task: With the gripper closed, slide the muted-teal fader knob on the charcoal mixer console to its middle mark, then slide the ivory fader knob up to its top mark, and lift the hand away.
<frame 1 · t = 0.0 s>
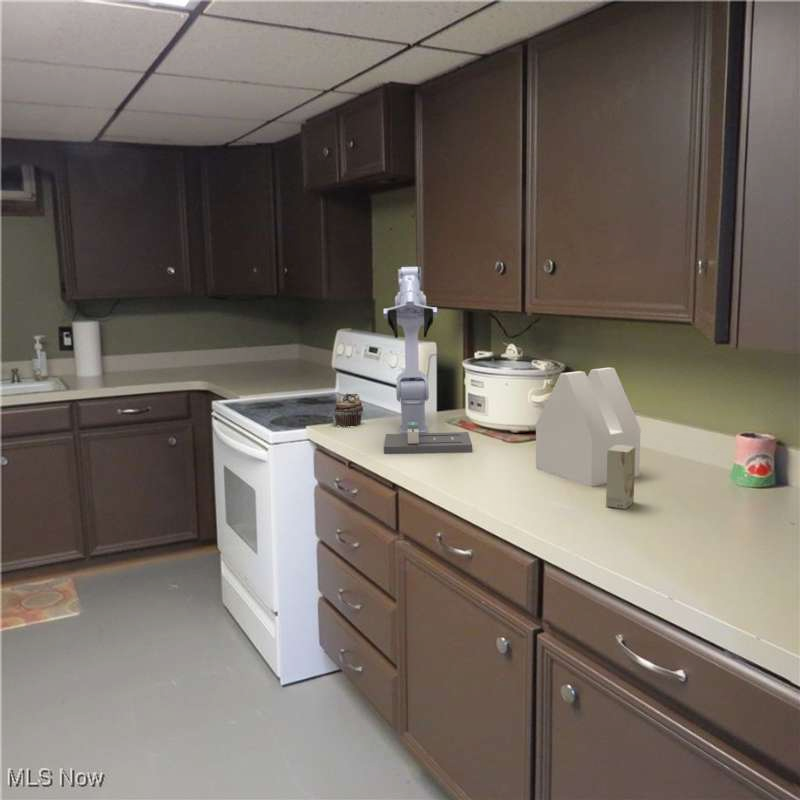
hand: (410, 334, 205), 32 cm above the worktop, tool tilted 50°, fingers open, 7 cm apart
grey house shaped holder: (586, 473, 188), on the worktop
teal fader: (413, 429, 222), point 4 cm above the worktop, slide at 0.0 cm
ivory fader: (413, 436, 213), point 4 cm above the worktop, slide at 0.0 cm
cupcake: (348, 425, 250), on the worktop
console: (427, 446, 218), on the worktop
skincare box: (620, 505, 163), on the worktop
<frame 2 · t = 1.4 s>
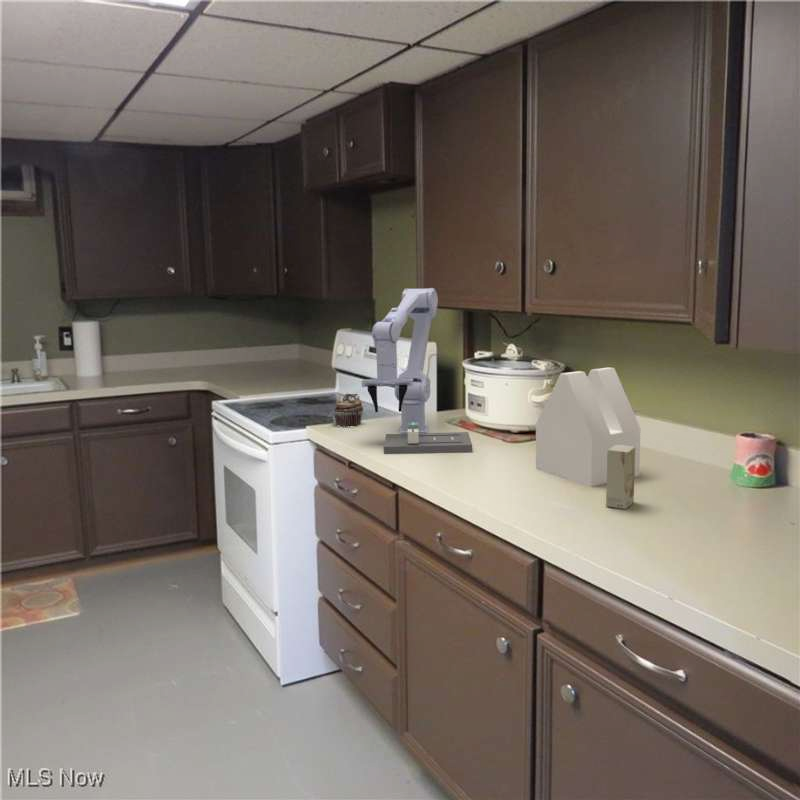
hand: (388, 411, 221), 9 cm above the worktop, tool pointing down, fingers open, 6 cm apart
nothing on the worktop moved.
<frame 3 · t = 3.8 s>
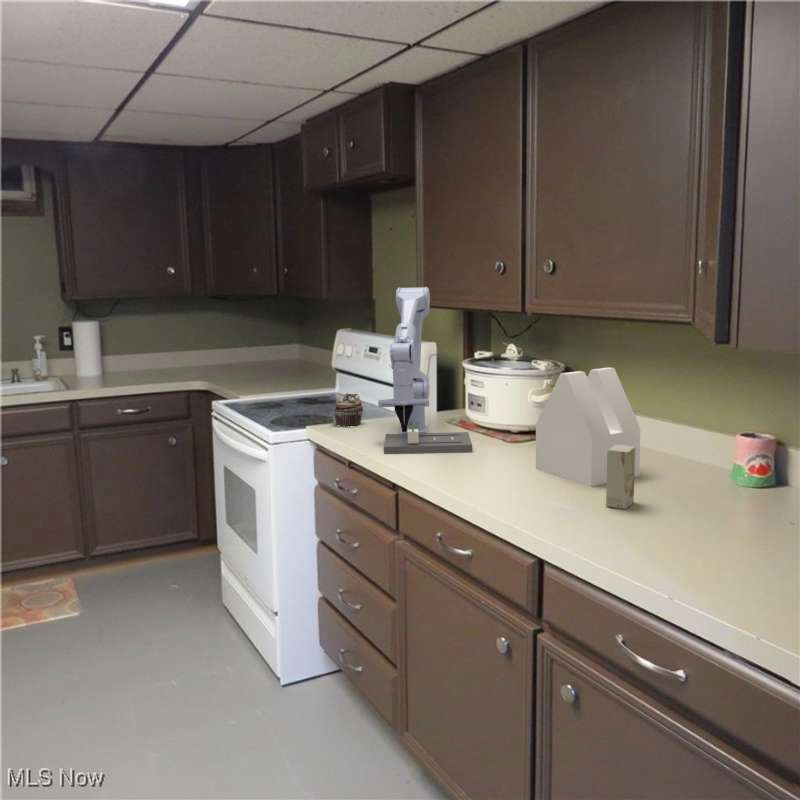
hand: (404, 431, 222), 3 cm above the worktop, tool pointing down, fingers closed
teal fader: (414, 428, 222), point 4 cm above the worktop, slide at 0.3 cm, touching gripper
everything else where it was.
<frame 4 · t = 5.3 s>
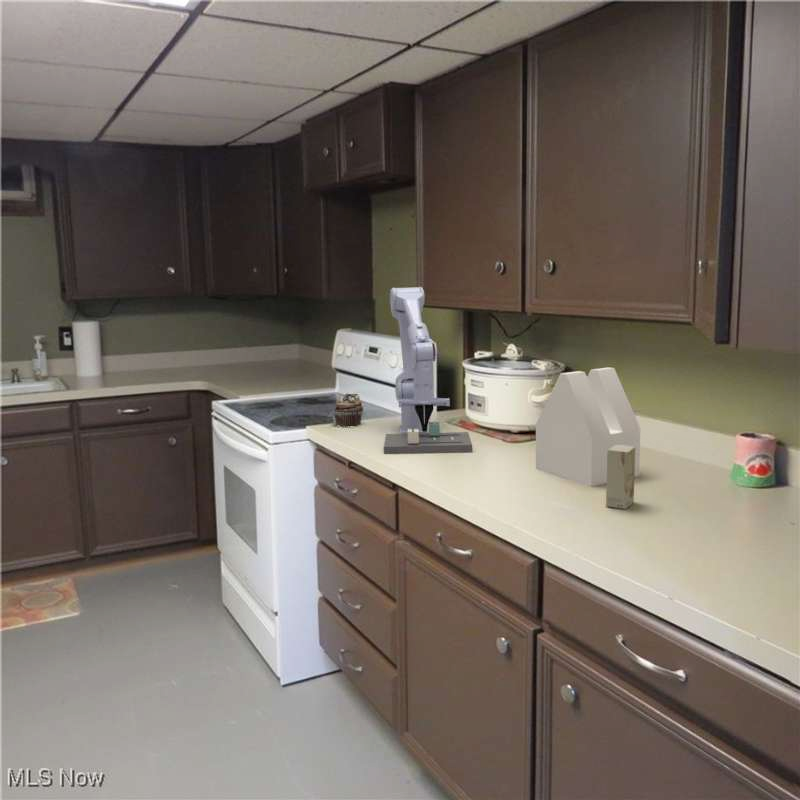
hand: (424, 430, 222), 3 cm above the worktop, tool pointing down, fingers closed
teal fader: (434, 428, 222), point 4 cm above the worktop, slide at 6.1 cm, touching gripper
everything else where it was.
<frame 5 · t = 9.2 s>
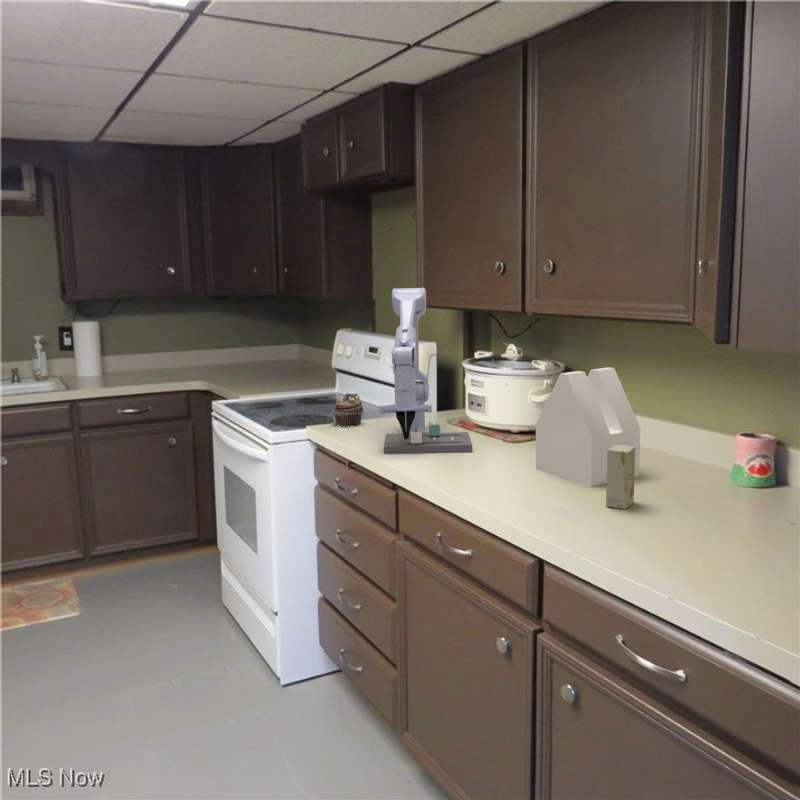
hand: (406, 438, 213), 3 cm above the worktop, tool pointing down, fingers closed
teal fader: (434, 428, 222), point 4 cm above the worktop, slide at 6.1 cm
ivory fader: (416, 435, 213), point 4 cm above the worktop, slide at 0.9 cm, touching gripper
everything else where it was.
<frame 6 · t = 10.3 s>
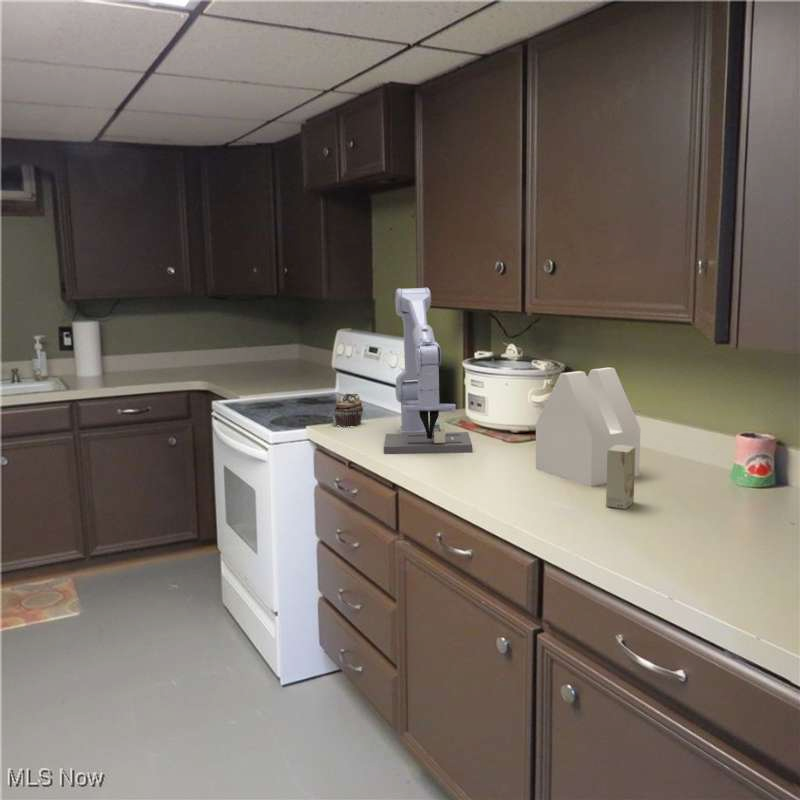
hand: (429, 437, 213), 3 cm above the worktop, tool pointing down, fingers closed
ivory fader: (439, 435, 213), point 4 cm above the worktop, slide at 7.3 cm, touching gripper
everything else where it was.
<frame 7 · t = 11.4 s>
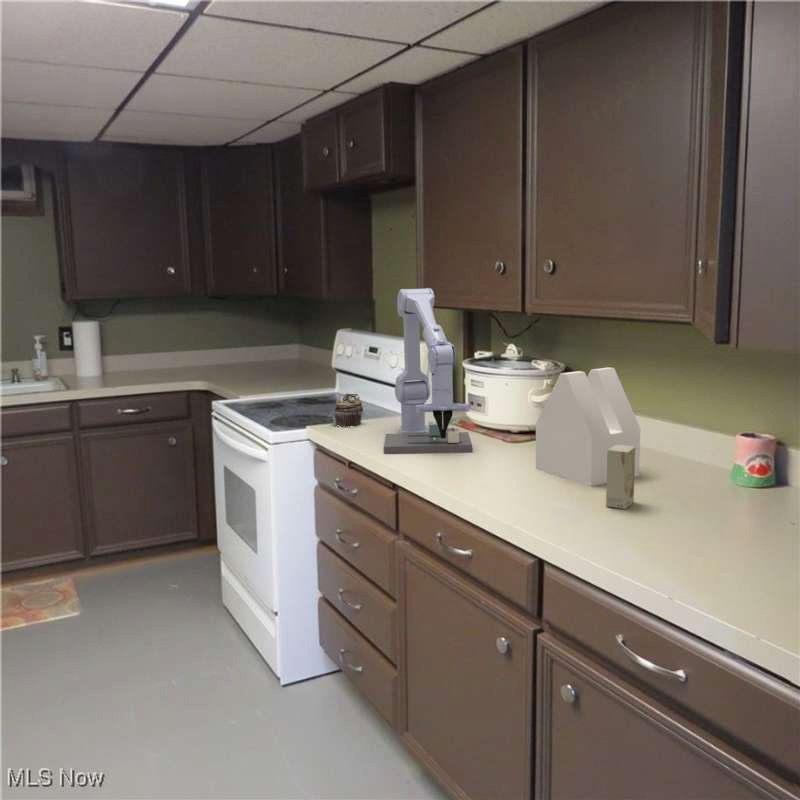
hand: (443, 437, 213), 3 cm above the worktop, tool pointing down, fingers closed
ivory fader: (453, 435, 213), point 4 cm above the worktop, slide at 11.0 cm, touching gripper
everything else where it was.
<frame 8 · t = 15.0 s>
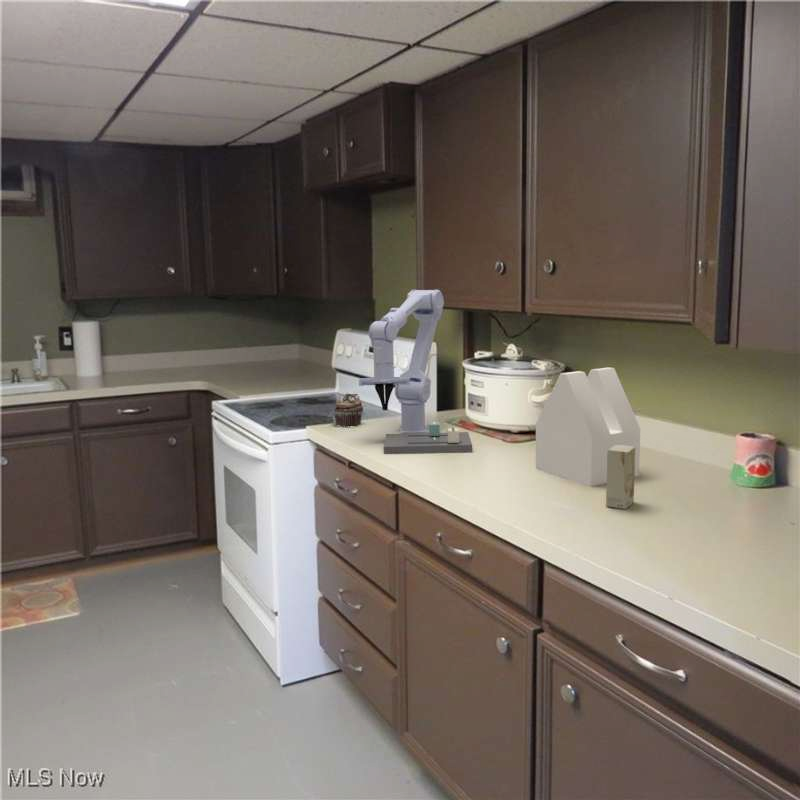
hand: (385, 409, 223), 9 cm above the worktop, tool pointing down, fingers closed
ivory fader: (453, 435, 213), point 4 cm above the worktop, slide at 11.1 cm
everything else where it was.
at the end: teal fader slide at 6.1 cm; ivory fader slide at 11.1 cm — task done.
